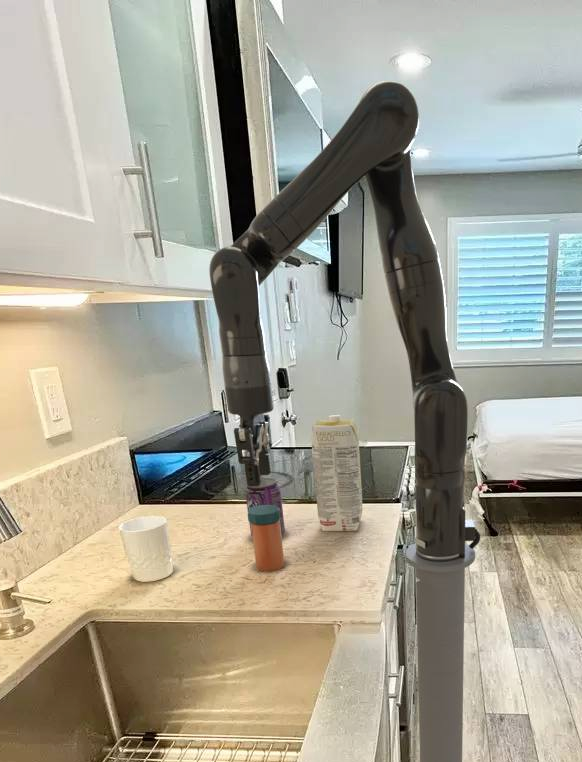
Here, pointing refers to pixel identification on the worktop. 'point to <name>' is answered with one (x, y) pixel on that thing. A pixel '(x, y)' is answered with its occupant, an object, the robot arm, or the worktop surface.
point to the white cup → (147, 547)
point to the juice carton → (337, 474)
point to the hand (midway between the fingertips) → (259, 479)
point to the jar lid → (264, 514)
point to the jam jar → (268, 546)
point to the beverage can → (265, 497)
